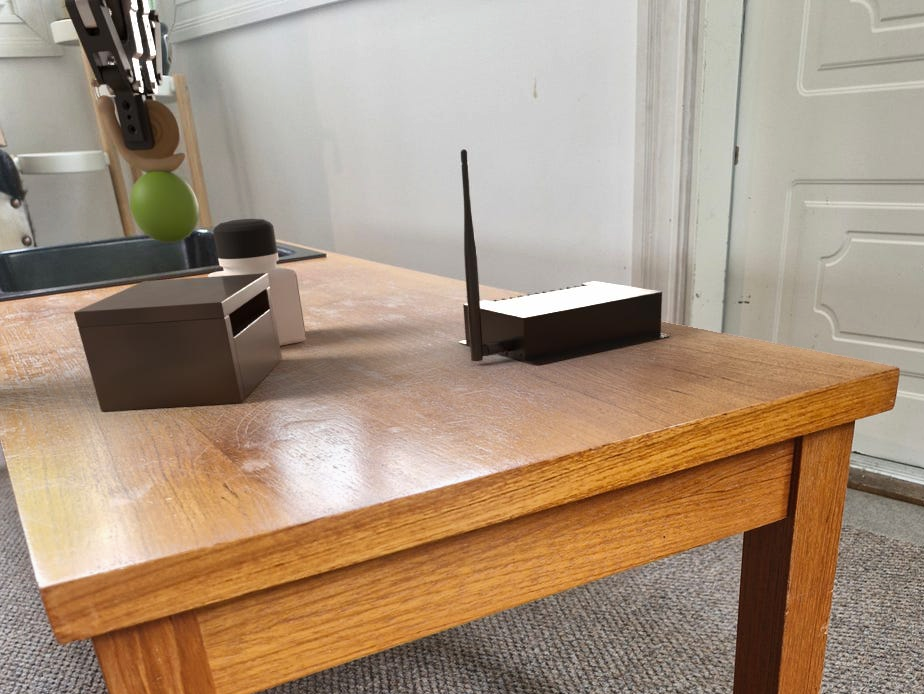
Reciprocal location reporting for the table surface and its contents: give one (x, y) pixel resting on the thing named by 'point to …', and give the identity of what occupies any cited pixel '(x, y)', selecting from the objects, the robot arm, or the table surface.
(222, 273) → the medicine bottle
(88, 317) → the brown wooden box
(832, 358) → the table surface
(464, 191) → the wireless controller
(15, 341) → the table surface
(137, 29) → the robot arm
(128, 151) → the snail figurine
